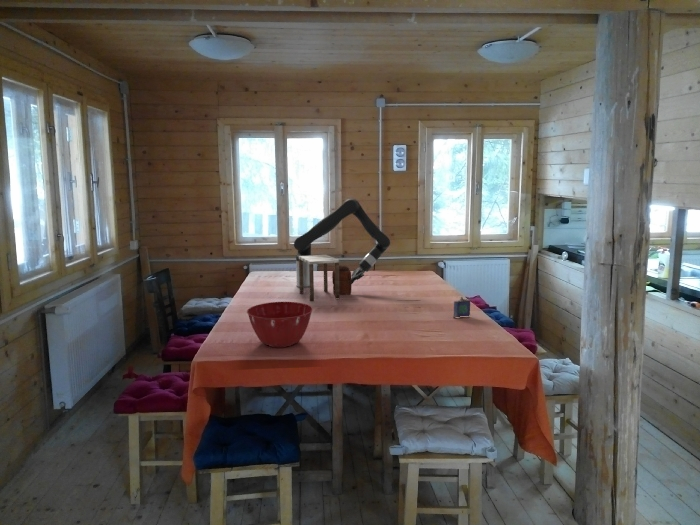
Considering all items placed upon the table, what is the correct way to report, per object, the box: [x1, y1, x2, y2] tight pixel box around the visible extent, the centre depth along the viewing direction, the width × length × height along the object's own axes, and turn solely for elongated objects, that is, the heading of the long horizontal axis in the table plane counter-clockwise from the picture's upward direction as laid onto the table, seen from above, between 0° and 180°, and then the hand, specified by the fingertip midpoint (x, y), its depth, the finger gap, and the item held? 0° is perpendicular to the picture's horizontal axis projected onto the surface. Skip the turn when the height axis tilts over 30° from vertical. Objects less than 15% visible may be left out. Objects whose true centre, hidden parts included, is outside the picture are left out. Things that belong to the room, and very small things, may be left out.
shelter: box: [299, 254, 340, 302], centre depth 334 cm, size 24×18×24 cm
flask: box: [453, 296, 471, 318], centre depth 282 cm, size 9×3×11 cm, turn 109°
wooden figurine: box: [331, 264, 352, 295], centre depth 340 cm, size 12×6×18 cm, turn 90°
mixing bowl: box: [246, 301, 313, 348], centre depth 241 cm, size 28×28×15 cm
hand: (349, 283), depth 342 cm, fingers closed
